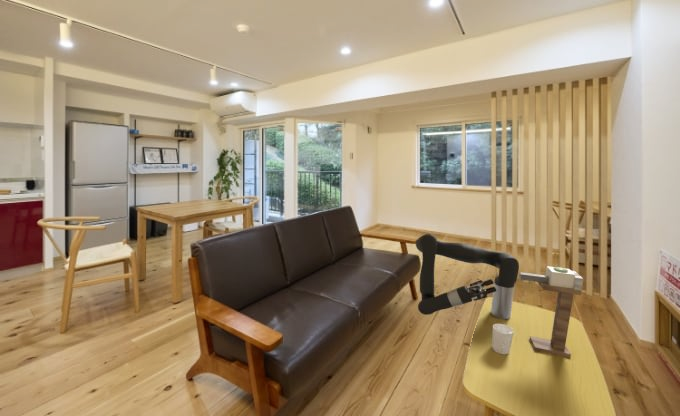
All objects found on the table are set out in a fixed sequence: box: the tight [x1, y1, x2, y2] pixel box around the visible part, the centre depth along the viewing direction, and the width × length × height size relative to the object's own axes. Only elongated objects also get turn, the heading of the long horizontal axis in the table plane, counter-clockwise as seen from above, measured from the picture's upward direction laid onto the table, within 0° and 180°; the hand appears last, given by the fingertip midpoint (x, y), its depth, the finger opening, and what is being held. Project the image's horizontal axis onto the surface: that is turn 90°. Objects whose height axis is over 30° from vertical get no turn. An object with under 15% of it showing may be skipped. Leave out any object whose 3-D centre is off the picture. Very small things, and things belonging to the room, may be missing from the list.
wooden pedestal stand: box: [529, 270, 584, 358], centre depth 129 cm, size 9×13×35 cm
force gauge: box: [518, 265, 575, 288], centre depth 128 cm, size 7×18×6 cm, turn 71°
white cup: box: [491, 323, 515, 355], centre depth 130 cm, size 8×8×10 cm
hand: (494, 284), depth 136 cm, fingers open, 8 cm apart
